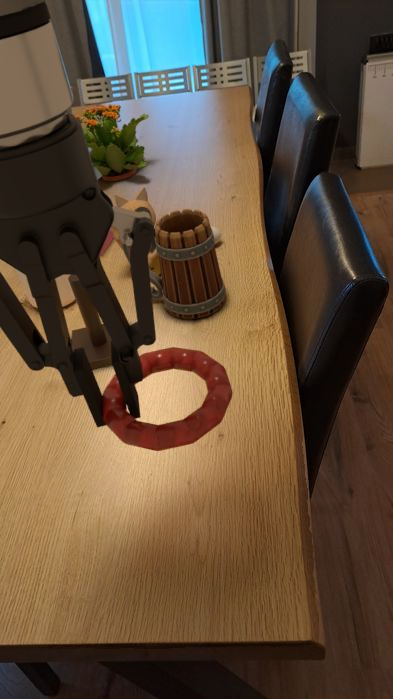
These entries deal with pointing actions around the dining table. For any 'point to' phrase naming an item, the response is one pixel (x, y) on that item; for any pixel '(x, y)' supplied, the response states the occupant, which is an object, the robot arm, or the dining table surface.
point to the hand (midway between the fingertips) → (118, 410)
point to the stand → (90, 329)
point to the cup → (62, 286)
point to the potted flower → (113, 143)
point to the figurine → (132, 205)
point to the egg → (216, 234)
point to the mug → (186, 265)
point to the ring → (178, 430)
